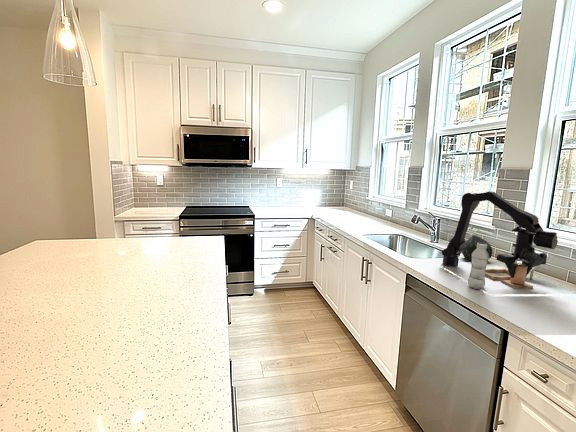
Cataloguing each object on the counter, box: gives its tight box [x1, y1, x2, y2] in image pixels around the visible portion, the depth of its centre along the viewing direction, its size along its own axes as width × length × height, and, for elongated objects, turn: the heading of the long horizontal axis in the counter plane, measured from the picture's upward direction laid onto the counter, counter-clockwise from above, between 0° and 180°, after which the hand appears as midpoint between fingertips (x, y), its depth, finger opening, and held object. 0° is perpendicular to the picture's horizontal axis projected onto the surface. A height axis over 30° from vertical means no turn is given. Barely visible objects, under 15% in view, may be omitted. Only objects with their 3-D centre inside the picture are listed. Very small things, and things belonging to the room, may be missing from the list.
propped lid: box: [504, 250, 550, 280], centre depth 147 cm, size 11×11×13 cm
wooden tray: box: [485, 268, 511, 281], centre depth 146 cm, size 15×11×2 cm
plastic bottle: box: [467, 242, 490, 291], centre depth 131 cm, size 6×7×20 cm
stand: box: [500, 280, 534, 290], centre depth 135 cm, size 9×7×2 cm
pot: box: [510, 263, 528, 284], centre depth 134 cm, size 5×5×8 cm
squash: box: [461, 234, 493, 262], centre depth 173 cm, size 14×15×15 cm
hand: (517, 277), depth 134 cm, fingers open, 5 cm apart
